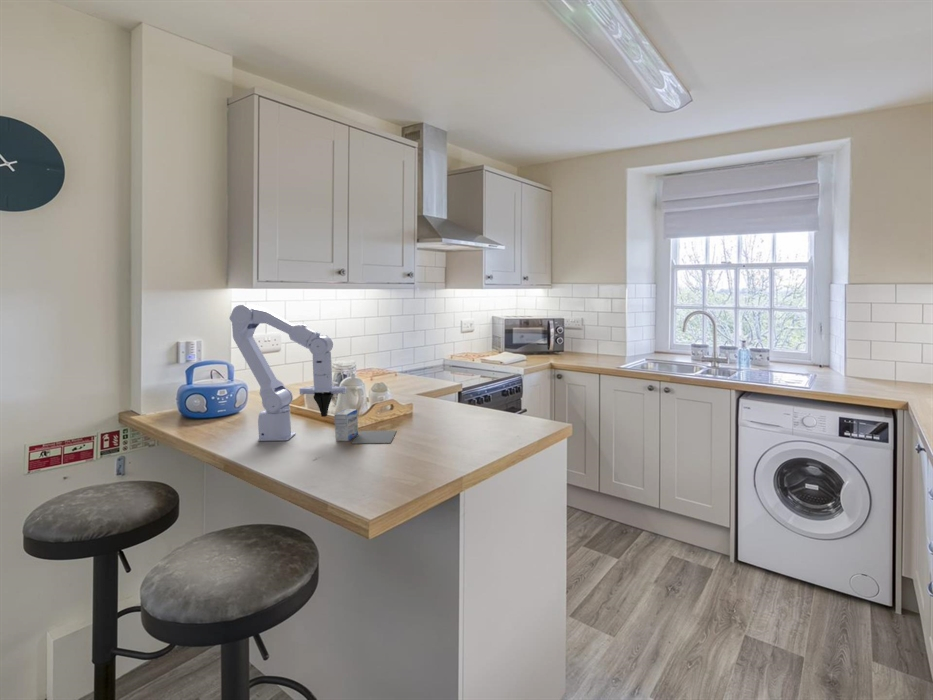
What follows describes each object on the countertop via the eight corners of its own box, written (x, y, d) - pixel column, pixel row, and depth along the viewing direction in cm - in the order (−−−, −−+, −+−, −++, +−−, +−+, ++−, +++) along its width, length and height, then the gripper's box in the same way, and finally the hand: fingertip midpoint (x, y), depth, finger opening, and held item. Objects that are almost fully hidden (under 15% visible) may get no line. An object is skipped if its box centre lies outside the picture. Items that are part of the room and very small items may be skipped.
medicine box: (348, 441, 161) (347, 414, 160) (335, 441, 162) (334, 414, 161) (358, 434, 169) (357, 409, 168) (345, 434, 169) (344, 408, 168)
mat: (351, 444, 158) (351, 443, 158) (360, 431, 172) (360, 431, 172) (390, 443, 158) (390, 442, 158) (396, 431, 172) (396, 430, 172)
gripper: (295, 376, 159) (297, 419, 160) (342, 375, 159) (344, 418, 160) (302, 372, 166) (304, 414, 167) (347, 372, 166) (349, 413, 167)
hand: (324, 416), depth 164 cm, fingers closed
